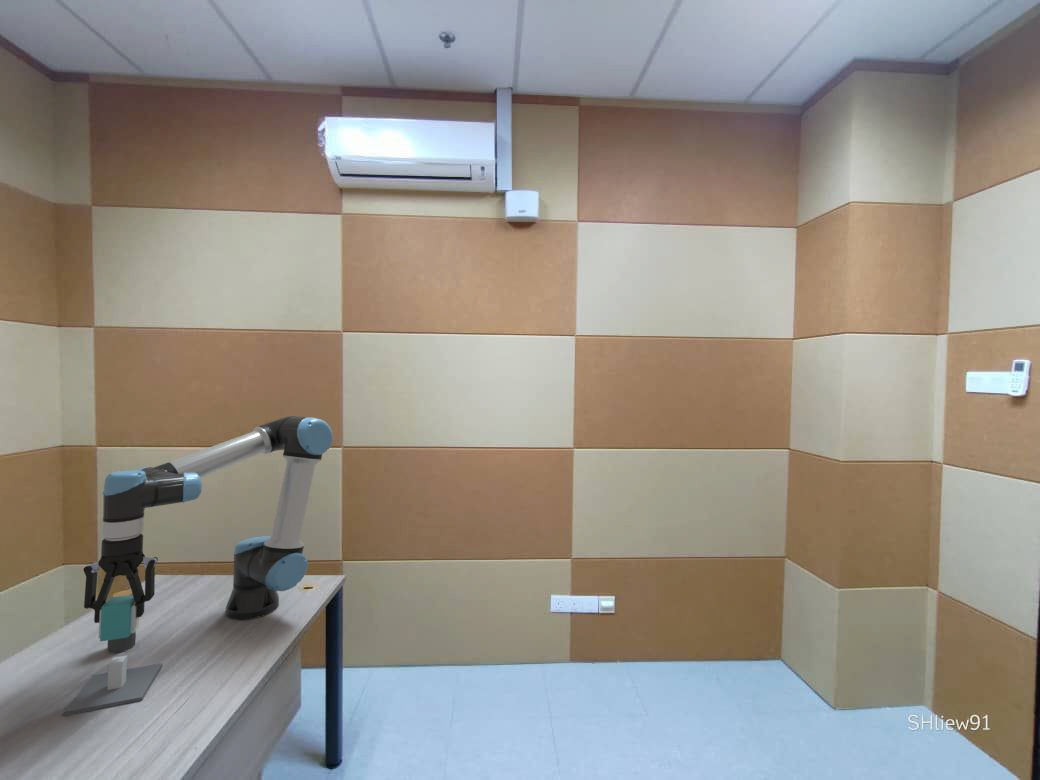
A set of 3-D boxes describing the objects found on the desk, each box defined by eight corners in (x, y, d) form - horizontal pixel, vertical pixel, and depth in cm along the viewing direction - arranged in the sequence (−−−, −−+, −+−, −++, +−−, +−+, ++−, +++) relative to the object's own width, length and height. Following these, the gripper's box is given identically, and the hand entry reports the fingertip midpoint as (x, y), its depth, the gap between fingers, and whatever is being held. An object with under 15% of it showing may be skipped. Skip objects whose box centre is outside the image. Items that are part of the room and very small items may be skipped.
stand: (162, 666, 117) (163, 639, 117) (142, 700, 104) (143, 670, 104) (92, 678, 111) (94, 649, 112) (62, 715, 99) (63, 683, 99)
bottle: (118, 654, 121) (120, 599, 121) (101, 651, 122) (103, 596, 123) (140, 643, 127) (143, 590, 127) (124, 640, 128) (126, 587, 128)
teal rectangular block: (136, 626, 111) (138, 594, 111) (128, 637, 107) (129, 603, 107) (110, 630, 109) (111, 597, 109) (100, 641, 105) (101, 607, 105)
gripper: (174, 528, 115) (170, 618, 115) (81, 534, 108) (77, 631, 108) (164, 537, 108) (160, 633, 108) (64, 544, 101) (60, 648, 101)
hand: (119, 632), depth 108 cm, fingers closed on teal rectangular block, 5 cm apart
